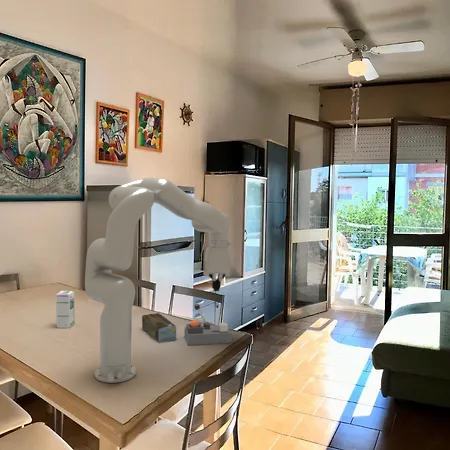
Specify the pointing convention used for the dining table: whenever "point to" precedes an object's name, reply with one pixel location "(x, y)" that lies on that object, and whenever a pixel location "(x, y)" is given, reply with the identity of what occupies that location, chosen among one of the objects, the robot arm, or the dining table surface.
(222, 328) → the slider
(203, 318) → the lever
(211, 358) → the dining table surface
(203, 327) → the panel
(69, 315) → the syrup box
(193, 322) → the button
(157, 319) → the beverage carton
